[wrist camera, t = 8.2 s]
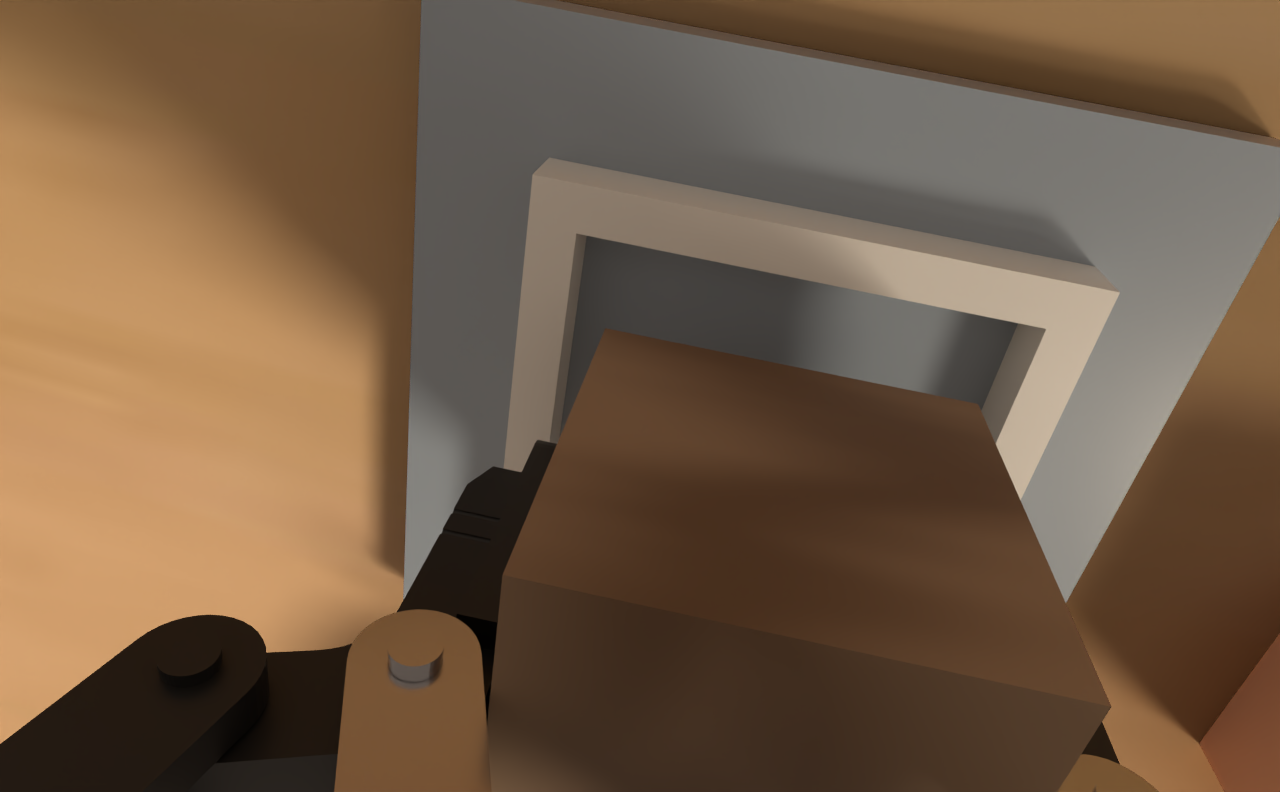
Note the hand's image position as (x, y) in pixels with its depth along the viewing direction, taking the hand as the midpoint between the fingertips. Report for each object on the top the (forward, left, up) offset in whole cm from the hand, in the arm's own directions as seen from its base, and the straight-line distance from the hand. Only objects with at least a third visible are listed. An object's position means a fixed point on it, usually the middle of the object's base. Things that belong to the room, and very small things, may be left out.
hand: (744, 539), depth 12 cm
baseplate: (0, 0, -4) cm, 4 cm away
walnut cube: (0, 0, 0) cm, 0 cm away
